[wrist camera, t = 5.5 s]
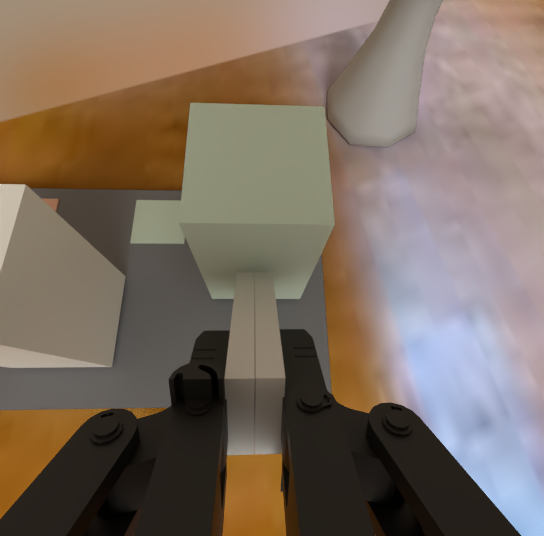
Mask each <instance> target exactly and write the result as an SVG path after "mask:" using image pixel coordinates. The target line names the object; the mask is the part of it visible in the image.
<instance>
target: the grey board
mask: <svg viewBox="0 0 544 536" xmlns="http://www.w3.org/2000/svg"><path fill="white" fill-rule="evenodd" d="M30 189H31V190H32V191H33V192H35V193H36V194H37V195H38V196H39V197H40V198H41V199H42V200H43V201H44V202H45V203H46V204H48V205H49V206H50V207H51V208H52V209H53V210H54V211H55V212H56V213H57V214H58V215H60V216H61V217H62V218H63V219H64V220H65V221H66V222H67V223H68V224H69V225H70V226H71V227H73V228H74V229H75V230H76V231H77V232H78V233H79V234H80V235H81V236H82V237H83V238H84V239H86V240H87V241H88V242H89V243H90V244H91V245H92V246H93V247H94V248H95V249H96V250H97V251H99V252H100V253H101V254H102V255H103V256H104V257H105V258H106V259H107V260H108V261H109V262H110V263H112V264H113V265H114V266H115V267H116V268H117V269H118V270H119V271H120V272H121V273H122V274H124V275H125V276H126V277H125V283H124V290H123V297H122V303H121V310H120V317H119V324H118V330H117V337H116V344H115V350H114V357H113V364H112V367H61V368H8V367H0V410H36V409H100V408H164V407H170V406H171V397H170V389H169V380H168V379H169V378H170V376H171V374H172V373H173V372H174V371H175V370H177V369H178V368H179V367H181V366H183V365H186V364H188V363H189V362H190V360H191V355H192V351H193V348H194V344H195V340H196V338H197V337H198V336H199V335H200V334H201V333H202V332H203V331H211V330H230V327H231V318H232V309H233V301H234V299H212V297H211V295H210V293H209V290H208V288H207V286H206V284H205V281H204V279H203V277H202V274H201V272H200V270H199V268H198V265H197V263H196V261H195V259H194V256H193V254H192V252H191V249H190V247H189V245H188V243H187V240H186V238H185V236H184V234H183V231H182V229H181V227H180V224H179V216H180V205H181V195H182V191H170V190H108V189H45V188H30ZM276 305H277V313H278V321H279V329H305V330H306V331H307V332H308V333H309V334H310V335H311V336H312V337H313V341H314V344H315V349H316V352H317V355H318V359H319V363H320V366H321V370H322V374H323V377H324V381H325V385H326V388H327V390H328V392H330V393H331V380H330V366H329V351H328V337H327V323H326V309H325V295H324V281H323V267H322V253H321V255H320V258H319V260H318V262H317V264H316V266H315V268H314V270H313V272H312V275H311V277H310V279H309V281H308V283H307V285H306V287H305V289H304V292H303V294H302V296H301V298H300V299H276ZM254 406H255V403H254Z"/></svg>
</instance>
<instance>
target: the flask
mask: <svg viewBox="0 0 544 536" xmlns="http://www.w3.org/2000/svg"><path fill="white" fill-rule="evenodd" d="M442 1H443V0H390V1H389V3H388V5H387V7H386V9H385V10H384V12H383V14H382V16H381V18H380V20H379V22H378V24H377V26H376V27H375V29H374V30H373V32H372V33H371V34H370V36H369V37H368V39H367V40H366V41H365V43H364V44H363V45H362V47H361V48H360V50H359V51H358V52H357V54H356V55H355V56H354V58H353V59H352V61H351V62H350V63H349V64H348V66H347V67H346V68H345V69H344V71H343V72H342V73H341V74H340V76H339V77H338V78H337V80H336V81H335V82H334V83H333V85H332V86H331V87H330V89H329V90H328V92H327V118H328V120H329V121H330V122H331V123H332V125H333V126H334V127H335V128H336V129H337V130H338V131H339V132H340V134H341V135H342V136H343V137H344V138H345V139H346V140H347V141H348V142H349V144H353V145H365V146H378V147H389V146H391V145H392V144H394V143H396V142H398V141H400V140H401V139H403V138H405V137H407V136H409V135H410V134H412V133H414V132H415V129H416V122H417V112H418V103H419V93H420V85H421V78H422V71H423V64H424V57H425V50H426V46H427V43H428V39H429V36H430V33H431V29H432V26H433V23H434V19H435V16H436V14H437V12H438V10H439V8H440V5H441V3H442Z"/></svg>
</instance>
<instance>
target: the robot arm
mask: <svg viewBox="0 0 544 536" xmlns="http://www.w3.org/2000/svg"><path fill="white" fill-rule="evenodd" d="M168 380H169V389H170V397H171V406H170V407H169V408H167V409H165V410H163V411H162V412H159V413H156V414H153V415H150V416H146V417H142V418H139V419H137V418H136V417H135V415H134V414H133V413H132V412H130V411H128V410H125V409H110V410H106V411H102V412H100V413H98V414H96V415H94V416H93V417H91V418H90V419H88V420H87V421H86V422H85V423H84V424H83V425H82V426H81V427H80V428H79V429H78V430H77V431H76V432H75V434H74V435H73V436H72V437H71V438H70V439H69V441H68V442H67V443H66V444H65V445H64V446H63V448H62V449H61V450H60V451H59V452H58V453H57V454H56V456H55V457H54V458H53V459H52V460H51V461H50V463H49V464H48V465H47V466H46V467H45V468H44V469H43V471H42V472H41V473H40V474H39V475H38V476H37V478H36V479H35V480H34V481H33V482H32V483H31V485H30V486H29V487H28V488H27V489H26V490H25V491H24V493H23V494H22V495H21V496H20V497H19V498H18V500H17V501H16V502H15V503H14V504H13V505H12V507H11V508H10V509H9V510H8V511H7V512H6V513H5V515H4V516H3V517H2V518H1V519H0V536H222V533H223V519H224V505H225V492H226V478H227V468H226V459H227V455H251V454H254V403H255V454H281V450H282V458H283V460H282V477H281V491H283V496H284V509H285V523H286V536H375V535H376V536H521V535H520V534H519V533H518V531H517V530H516V529H515V528H514V527H513V526H512V524H511V523H510V522H509V521H508V520H507V519H506V518H505V516H504V515H503V514H502V513H501V512H500V511H499V509H498V508H497V507H496V506H495V505H494V504H493V502H492V501H491V500H490V499H489V498H488V497H487V495H486V494H485V493H484V492H483V491H482V490H481V488H480V487H479V486H478V485H477V484H476V483H475V481H474V480H473V479H472V478H471V477H470V476H469V474H468V473H467V472H466V471H465V470H464V469H463V467H462V466H461V465H460V464H459V463H458V462H457V460H456V459H455V458H454V457H453V456H452V455H451V453H450V452H449V451H448V450H447V449H446V448H445V446H444V445H443V444H442V443H441V442H440V441H439V439H438V438H437V437H436V436H435V435H434V434H433V432H432V431H431V430H430V429H429V428H428V427H427V426H426V424H425V423H424V422H423V421H422V420H421V419H420V417H418V416H417V415H416V414H415V413H414V412H413V411H412V410H410V409H408V408H406V407H404V406H402V405H398V404H394V403H381V404H378V405H376V406H374V407H373V408H372V410H371V411H370V412H369V413H365V412H361V411H357V410H353V409H350V408H347V407H345V406H343V405H341V404H339V403H338V402H336V400H335V398H334V397H333V395H332V394H331V393H330V392H328V390H327V388H326V385H325V381H324V377H323V374H322V370H321V366H320V363H319V359H318V355H317V352H316V349H315V344H314V341H313V337H312V336H311V335H310V334H309V333H308V332H307V331H306V330H305V329H279V321H278V313H277V305H276V297H275V289H274V281H273V273H272V272H255V287H254V272H237V275H236V283H235V292H234V301H233V309H232V318H231V327H230V330H211V331H203V332H202V333H201V334H200V335H199V336H198V337H197V338H196V340H195V344H194V348H193V351H192V355H191V360H190V362H189V363H188V364H186V365H183V366H181V367H179V368H178V369H177V370H175V371H174V372H173V373H172V374H171V376H170V378H169V379H168Z"/></svg>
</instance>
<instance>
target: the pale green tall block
mask: <svg viewBox="0 0 544 536" xmlns="http://www.w3.org/2000/svg"><path fill="white" fill-rule="evenodd" d="M179 224H180V227H181V229H182V231H183V234H184V236H185V238H186V240H187V243H188V245H189V247H190V249H191V252H192V254H193V256H194V259H195V261H196V263H197V265H198V268H199V270H200V272H201V274H202V277H203V279H204V281H205V284H206V286H207V288H208V290H209V293H210V295H211V297H212V299H234V292H235V283H236V275H237V272H254V287H255V272H272V273H273V281H274V289H275V297H276V299H300V298H301V296H302V294H303V292H304V289H305V287H306V285H307V283H308V281H309V279H310V277H311V275H312V272H313V270H314V268H315V266H316V264H317V262H318V260H319V258H320V255H321V253H322V251H323V249H324V247H325V245H326V243H327V240H328V238H329V236H330V234H331V232H332V230H333V228H334V226H335V220H334V208H333V197H332V186H331V175H330V163H329V152H328V141H327V130H326V118H325V107H323V106H288V105H253V104H219V103H190V111H189V121H188V132H187V142H186V153H185V163H184V174H183V184H182V195H181V205H180V216H179Z"/></svg>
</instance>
